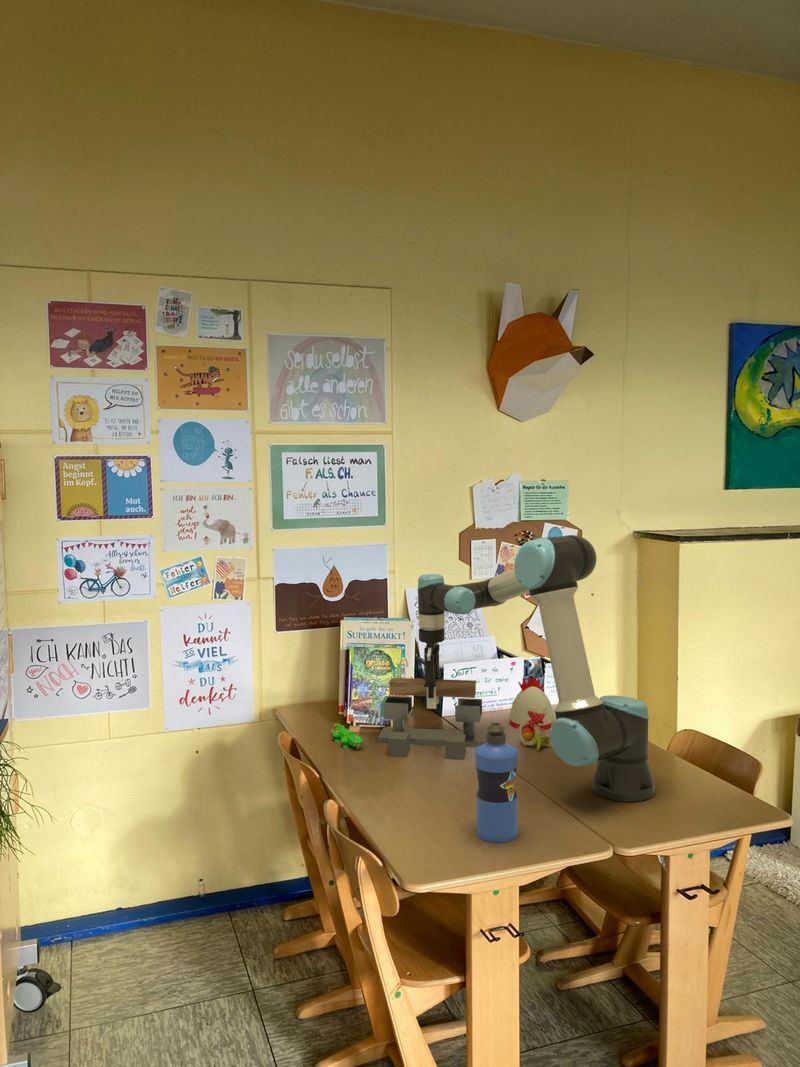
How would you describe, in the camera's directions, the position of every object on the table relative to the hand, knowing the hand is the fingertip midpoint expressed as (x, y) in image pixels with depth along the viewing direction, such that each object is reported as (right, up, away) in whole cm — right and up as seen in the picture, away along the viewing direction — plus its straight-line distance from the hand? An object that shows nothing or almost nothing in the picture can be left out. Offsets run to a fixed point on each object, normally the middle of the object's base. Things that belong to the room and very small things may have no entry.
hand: (432, 705), depth 245 cm
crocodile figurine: (-25, -11, 0) cm, 28 cm away
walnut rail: (0, +3, 0) cm, 3 cm away
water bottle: (+12, -16, -60) cm, 63 cm away
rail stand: (0, -10, +1) cm, 10 cm away
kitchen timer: (+31, -9, +13) cm, 35 cm away
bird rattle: (+28, -11, -8) cm, 31 cm away
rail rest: (-2, -11, -11) cm, 16 cm away
